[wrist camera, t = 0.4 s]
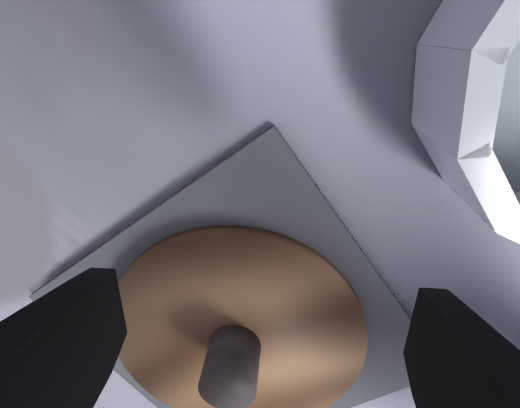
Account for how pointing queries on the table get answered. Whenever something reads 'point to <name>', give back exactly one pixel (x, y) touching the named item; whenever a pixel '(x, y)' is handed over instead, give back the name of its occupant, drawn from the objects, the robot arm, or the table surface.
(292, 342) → the walnut lid
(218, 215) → the grey square pad
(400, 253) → the table surface
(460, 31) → the grey bowl
